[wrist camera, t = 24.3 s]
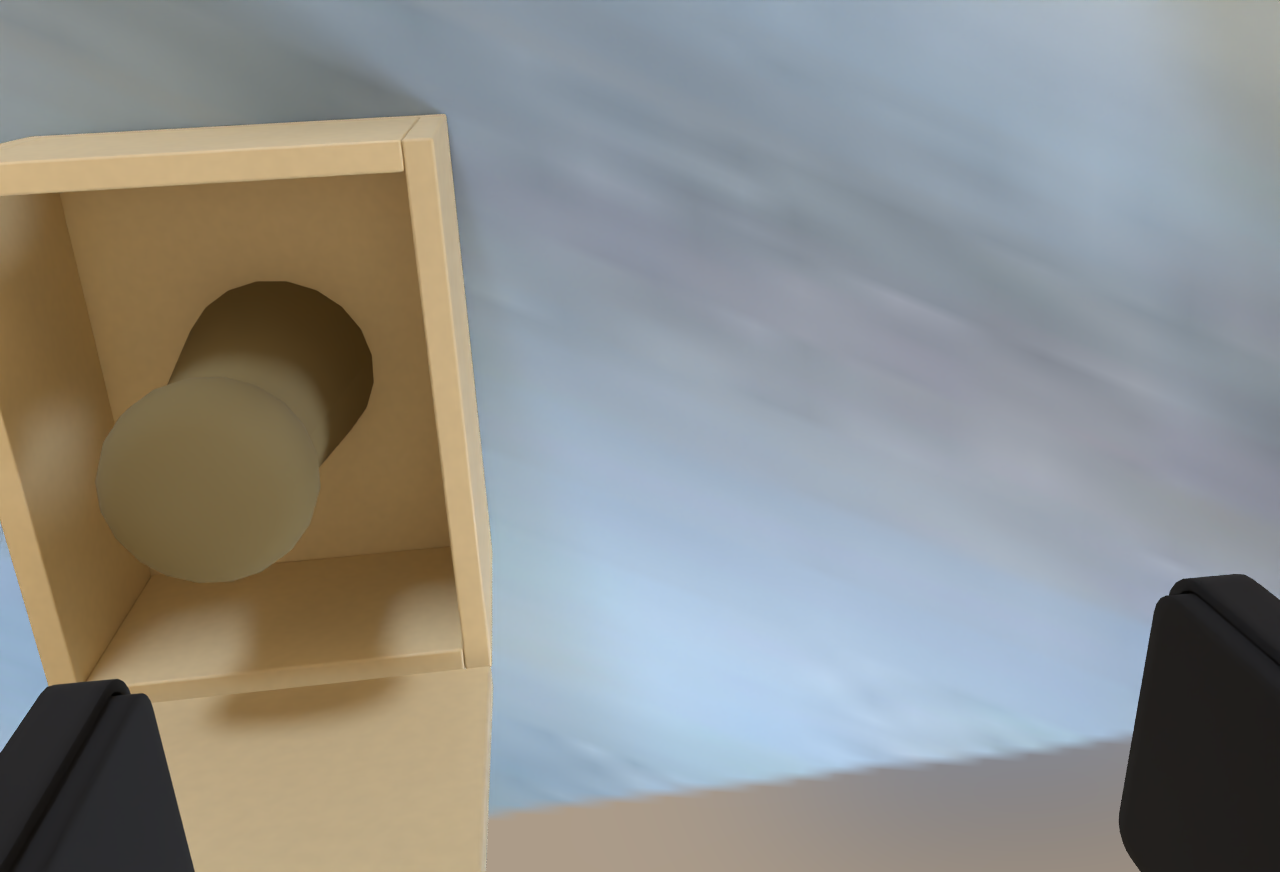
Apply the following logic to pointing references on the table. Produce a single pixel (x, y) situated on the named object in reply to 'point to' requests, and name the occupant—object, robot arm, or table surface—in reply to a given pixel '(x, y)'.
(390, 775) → the lid
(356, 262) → the chest
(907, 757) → the table surface
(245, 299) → the cork
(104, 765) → the robot arm
